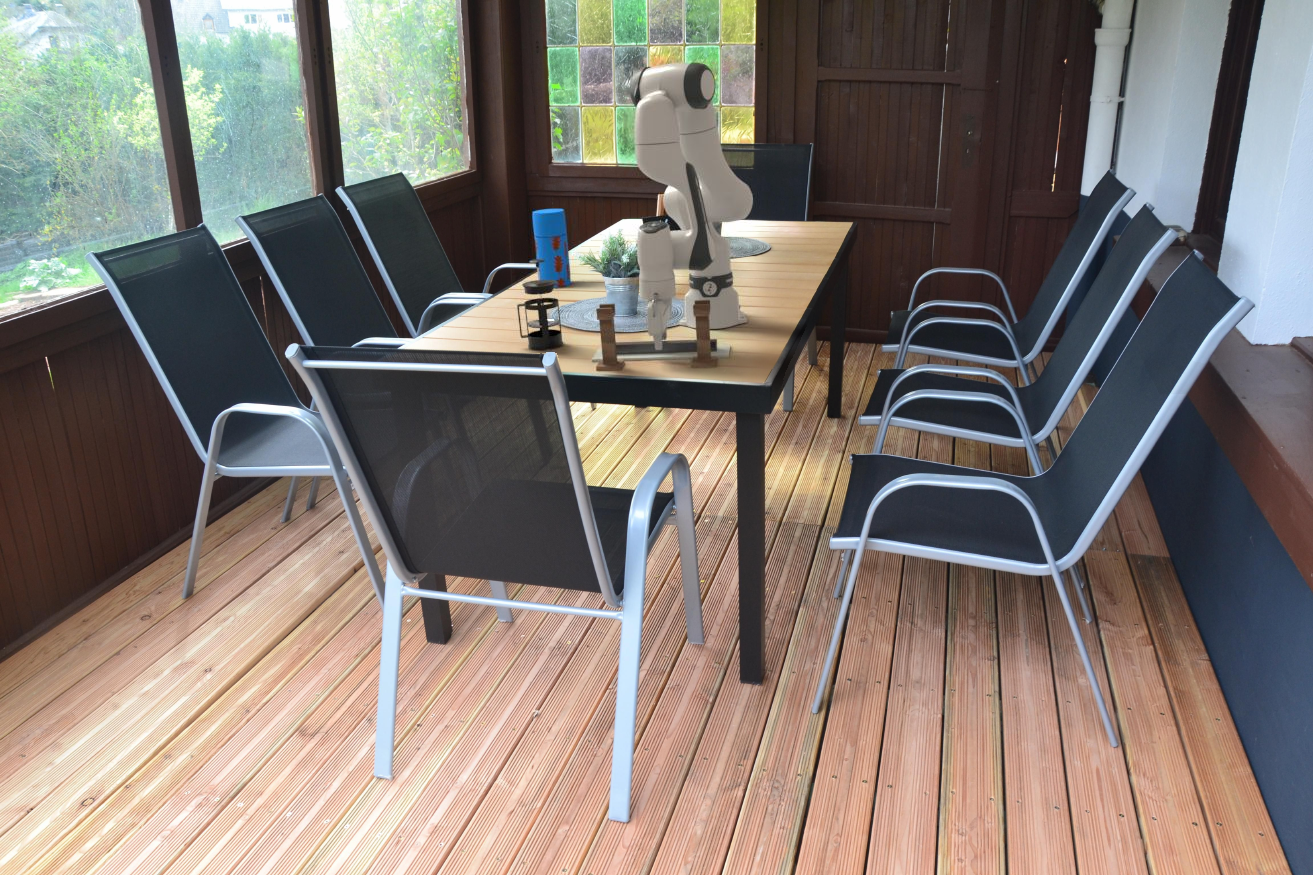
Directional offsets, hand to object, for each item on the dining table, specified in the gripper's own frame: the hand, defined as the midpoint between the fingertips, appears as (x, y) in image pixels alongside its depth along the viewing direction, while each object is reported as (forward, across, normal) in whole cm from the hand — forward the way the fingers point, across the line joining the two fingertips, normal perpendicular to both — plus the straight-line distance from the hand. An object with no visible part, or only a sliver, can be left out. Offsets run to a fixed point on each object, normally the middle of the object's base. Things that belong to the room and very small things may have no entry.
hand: (661, 344), depth 255 cm
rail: (+2, 0, 0) cm, 2 cm away
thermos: (+3, +93, +47) cm, 104 cm away
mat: (+3, 0, 0) cm, 3 cm away
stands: (+3, -10, 0) cm, 10 cm away
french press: (+3, +12, +33) cm, 35 cm away
